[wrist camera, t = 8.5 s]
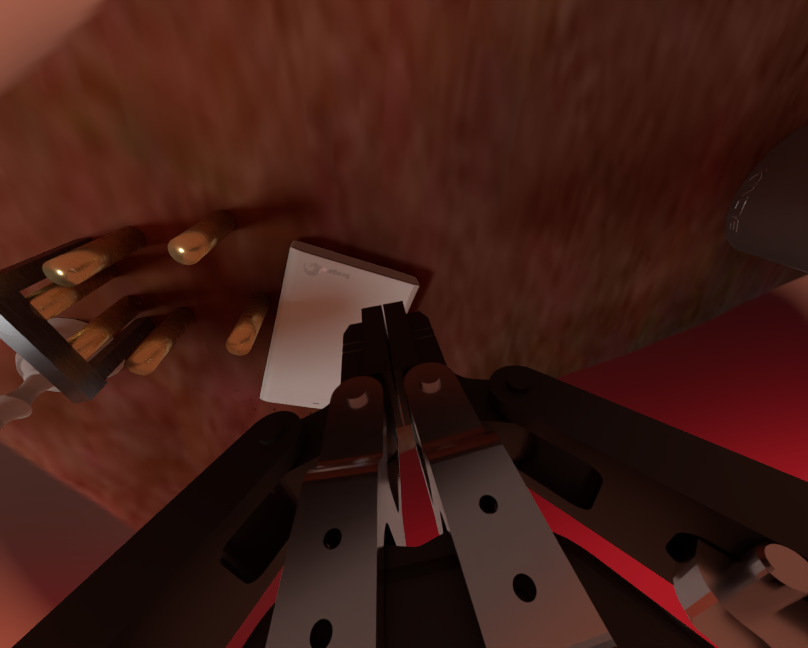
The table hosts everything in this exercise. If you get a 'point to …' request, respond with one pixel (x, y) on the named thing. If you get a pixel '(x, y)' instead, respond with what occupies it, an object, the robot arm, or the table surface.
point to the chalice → (37, 377)
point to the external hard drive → (322, 320)
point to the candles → (81, 275)
